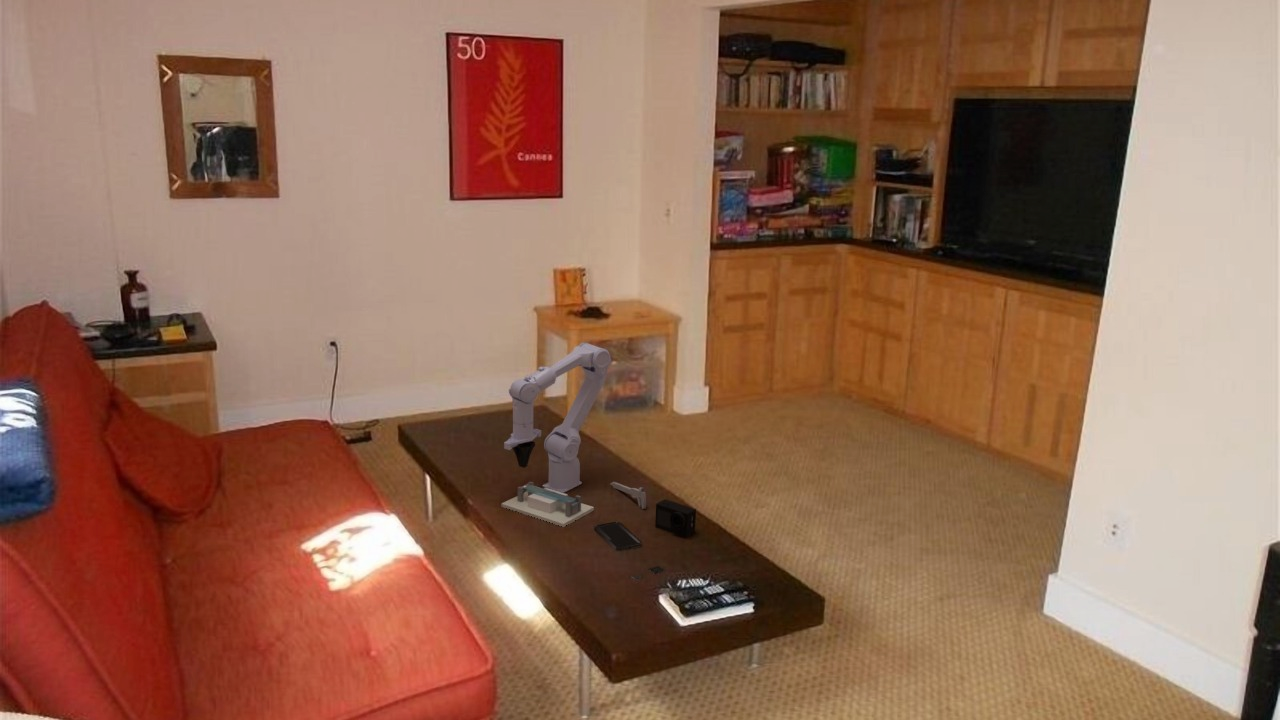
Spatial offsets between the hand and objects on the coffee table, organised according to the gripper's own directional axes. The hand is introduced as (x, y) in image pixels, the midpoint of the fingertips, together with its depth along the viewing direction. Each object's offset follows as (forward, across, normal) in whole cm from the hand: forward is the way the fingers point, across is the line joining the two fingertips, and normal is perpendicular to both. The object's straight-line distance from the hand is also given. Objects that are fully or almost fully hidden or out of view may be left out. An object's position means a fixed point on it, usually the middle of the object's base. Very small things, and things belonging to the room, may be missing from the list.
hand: (522, 466), depth 274 cm
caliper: (+10, -18, +24) cm, 32 cm away
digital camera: (+10, -6, +47) cm, 48 cm away
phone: (+10, +6, +37) cm, 39 cm away
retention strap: (+6, +3, +11) cm, 13 cm away
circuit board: (+10, +17, +55) cm, 58 cm away
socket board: (+9, +2, +11) cm, 15 cm away
